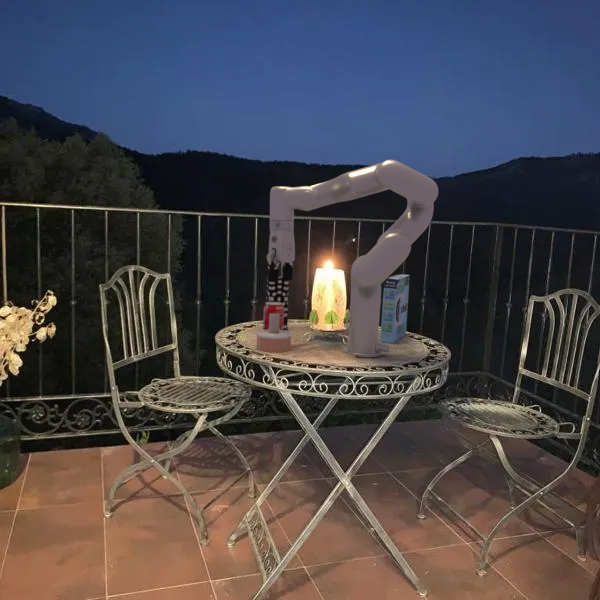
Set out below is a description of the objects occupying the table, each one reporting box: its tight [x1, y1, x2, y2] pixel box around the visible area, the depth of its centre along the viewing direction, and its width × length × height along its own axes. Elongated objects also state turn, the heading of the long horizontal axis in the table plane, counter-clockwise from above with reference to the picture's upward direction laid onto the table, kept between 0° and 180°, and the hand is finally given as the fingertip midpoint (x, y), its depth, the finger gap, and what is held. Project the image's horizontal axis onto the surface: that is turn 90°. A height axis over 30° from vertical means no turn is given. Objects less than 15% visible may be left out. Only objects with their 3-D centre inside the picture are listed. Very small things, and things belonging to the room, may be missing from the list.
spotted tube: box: [265, 275, 290, 331], centre depth 239 cm, size 8×8×20 cm
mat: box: [290, 341, 322, 351], centre depth 208 cm, size 10×10×1 cm
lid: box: [256, 313, 292, 339], centre depth 200 cm, size 11×11×7 cm
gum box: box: [379, 273, 411, 344], centre depth 229 cm, size 20×5×23 cm, turn 157°
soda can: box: [262, 301, 284, 330], centre depth 218 cm, size 7×7×13 cm
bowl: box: [256, 335, 292, 353], centre depth 201 cm, size 10×10×5 cm
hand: (280, 280), depth 200 cm, fingers open, 9 cm apart
